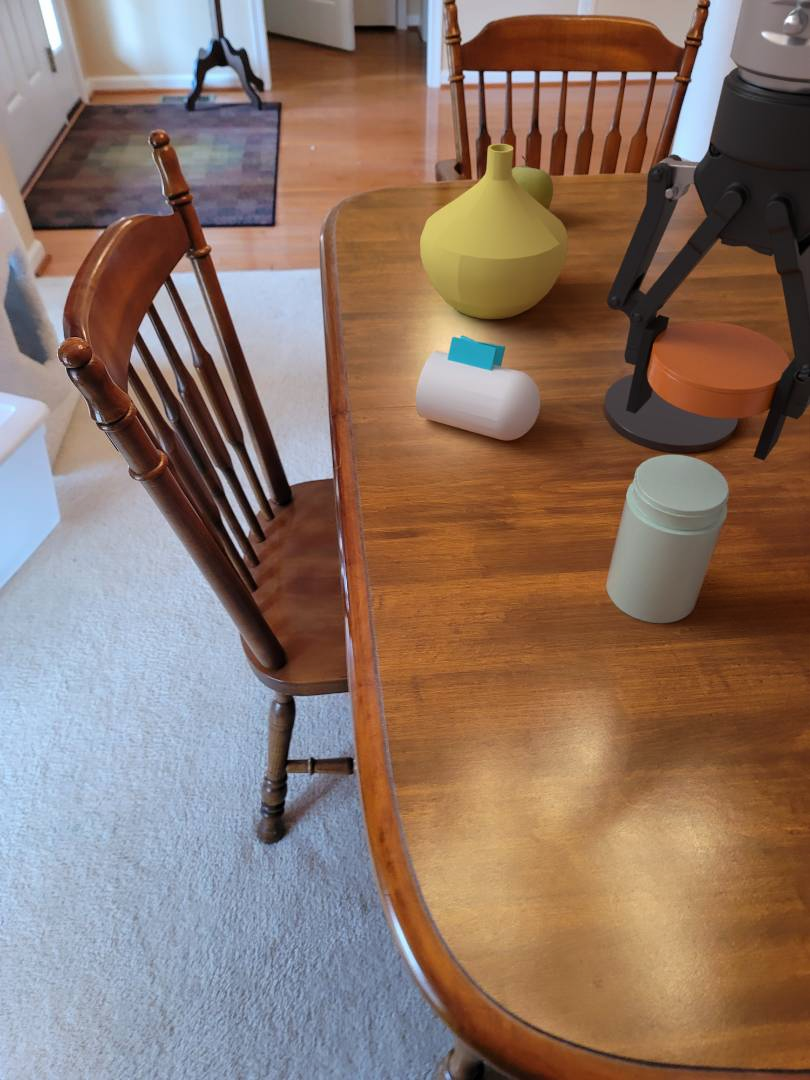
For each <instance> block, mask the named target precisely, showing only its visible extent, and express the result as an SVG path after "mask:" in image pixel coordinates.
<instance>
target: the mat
mask: <svg viewBox="0 0 810 1080" xmlns="http://www.w3.org/2000/svg"><path fill="white" fill-rule="evenodd" d="M633 374H634V373H633ZM633 374H630V375H626V376H624V377H621V378H620V379H618V380H616V381H615V382H614V383H613V384H611V385H610V387H608V389H607V390H606V392H605V395H604V401H603V414H604V417H605V419H606V421H607V423H608V424H609V425H610V426H611V427H612V428H613V429H614V430H615V431H616V432H617V433H618V434H619V435H621V436H622V437H624V438H626V439H628V440H629V441H631V442H633V443H635V444H637V445H640V446H643V447H645V448H648V449H652V450H656V451H661V452H666V453H674V454H694V453H702V452H707V451H710V450H713V449H715V448H716V449H717V448H718V447H721V446H722V445H723V444H725V443H726V442H728V441H729V440H730V439H731V438H732V436H733V435H734V434H735V432H736V429H737V425H738V422H739V418H732V419H726V418H714V417H707V416H702V415H698V414H694V413H691V412H688V411H685V410H682V409H680V408H678V407H676V406H674V405H672V404H670V403H668V402H667V401H665V400H664V399H662V398H661V397H660V396H659V395H657V394H656V392H655V391H654V390H653V391H652V395H651V398H650V399H649V400H648V401H647V402H646V403H645V404H644V405H643V406H642V407H641V408H640V410H639V411H638V412H637V413H636V414H634V413H631V412H629V411H626V408H627V403H628V398H629V393H630V388H631V384H632V379H633Z"/></svg>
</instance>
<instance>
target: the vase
mask: <svg viewBox="0 0 810 1080" xmlns="http://www.w3.org/2000/svg"><path fill="white" fill-rule="evenodd" d="M513 157H514V147H513V146H512V145H510V144H507V143H493V144H490V145H488V146H487V156H486V170H485V174H484V175H483V176H482V177H481V178H480V179H479V181H478V182H477V183H475V184H474V185H473V186H472V187H470V188H469V189H467V190H466V191H465V192H463V193H462V194H460V195H459V196H458V197H456V198H455V199H454V200H452V201H450V202H449V203H447V204H445V205H444V206H443V207H442V208H440V209H439V210H437V211H435V212H434V213H433V214H432V215H430V216H429V218H427V220H426V222H425V225H424V226H423V229H422V233H421V236H420V238H419V246H420V247H419V249H420V251H419V252H420V258H421V262H422V265H423V268H424V271H425V273H426V275H427V278H428V280H429V282H430V285H431V286H432V288H434V290H435V291H436V292H437V293H438V295H439V296H440V297H441V298H442V300H443V301H444V302H445V303H446V304H447V305H449V306H451V307H452V308H453V309H456V311H458V312H460V313H461V314H463V315H465V316H469V317H472V318H475V319H476V318H478V319H482V320H502V319H507V318H508V319H509V318H512V317H515V316H518V315H520V314H522V313H524V312H526V311H528V310H529V309H531V308H532V307H534V306H535V305H537V304H538V303H539V302H540V301H541V300H542V299H544V298H545V297H546V295H548V294H549V292H550V291H551V289H552V288H553V287H554V285H555V283H556V282H557V280H558V278H559V277H560V274H561V273H562V272H563V270H564V268H565V266H566V262H567V257H568V250H569V237H568V234H567V233H568V232H567V229H566V226H565V225H564V224H563V222H562V220H561V219H560V218H558V217H557V216H556V215H555V214H553V213H552V212H551V211H549V210H547V209H546V208H544V207H543V206H542V205H541V204H540V203H538V202H537V201H536V200H535V199H534V198H533V197H532V196H531V195H529V194H528V193H527V192H526V191H525V190H524V189H523V188H522V187H521V186H519V185H518V183H517V182H516V180H515V179H514V177H513V176H512V169H513Z"/></svg>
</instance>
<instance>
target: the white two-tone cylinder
mask: <svg viewBox="0 0 810 1080" xmlns="http://www.w3.org/2000/svg"><path fill="white" fill-rule="evenodd" d="M449 346H450V347H449V351H448V352H446V351H445V352H444V351H440V350H435V351H433V352H432V353H430V355H429V356H428V357H427V359H426V361H425V362H424V365H423V367H422V369H421V373H420V375H419V378H418V382H417V386H416V393H415V410H416V413H417V415H418V417H420V418H422V419H424V420H425V419H426V420H429V421H433V422H436V423H440V424H444V425H447V426H451V427H454V428H458V429H461V430H465V431H468V432H472V433H475V434H479V435H482V436H486V437H489V438H493V439H497V440H501V441H513V440H517V439H518V438H521V437H523V436H524V435H525V434H526V433H528V432H529V431H530V430H531V429H532V428H533V426H534V425H535V423H536V421H537V419H538V417H539V413H540V409H541V395H540V390H539V388H538V385H537V383H536V381H535V380H534V379H533V378H532V377H531V376H530V375H529V374H527V373H526V372H523V371H521V370H518V369H517V370H516V369H513V368H509V367H505V366H502V364H503V359H504V356H505V351H506V345H500V344H494V343H488V342H483V341H478V340H474V339H472V338H470V337H468V336H466V335H464V334H462V335H460V336H459V337H456V336H452V337H451V342H450V345H449Z"/></svg>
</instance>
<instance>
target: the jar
mask: <svg viewBox="0 0 810 1080" xmlns="http://www.w3.org/2000/svg"><path fill="white" fill-rule="evenodd" d="M729 497H730V490H729V484H728V481H727V479H726V477H725V476H724V475H723V474H722V472H721V471H720V470H718V469H717V468H716V467H714V466H713V465H712V464H710V463H708V462H706V461H704V460H701V459H699V458H696V457H693V456H689V455H684V454H662V455H658V456H657V455H656V456H653V457H651V458H648V459H646V460H645V461H643V462H641V464H639V465H638V467H636V469H635V473H634V476H633V480H632V482H631V483H630V485H628V488H627V491H626V495H625V498H624V502H623V507H622V512H621V516H620V520H619V525H618V529H617V532H616V537H615V540H614V541H615V542H614V546H613V549H612V554H611V558H610V563H609V567H608V572H607V576H606V580H605V588H606V591H607V592H606V593H607V594H608V598H609V599H610V600H611V602H612V603H613V604H614V605H615V606H616V607H617V608H618V609H619V610H620V611H622V612H623V613H625V614H626V615H627V616H629V617H632V618H634V619H637V620H640V621H642V622H647V623H653V624H669V623H674V622H677V621H680V620H682V619H684V618H686V617H687V616H689V615H690V614H691V613H692V611H693V610H694V609H695V606H696V604H697V602H698V599H699V596H700V593H701V590H702V587H703V584H704V581H705V579H706V576H707V573H708V570H709V567H710V565H711V561H712V559H713V556H714V553H715V550H716V547H717V544H718V542H719V540H720V539H719V538H720V536H721V533H722V530H723V528H724V525H725V521H726V518H727V516H728V505H727V503H728V501H729Z"/></svg>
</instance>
